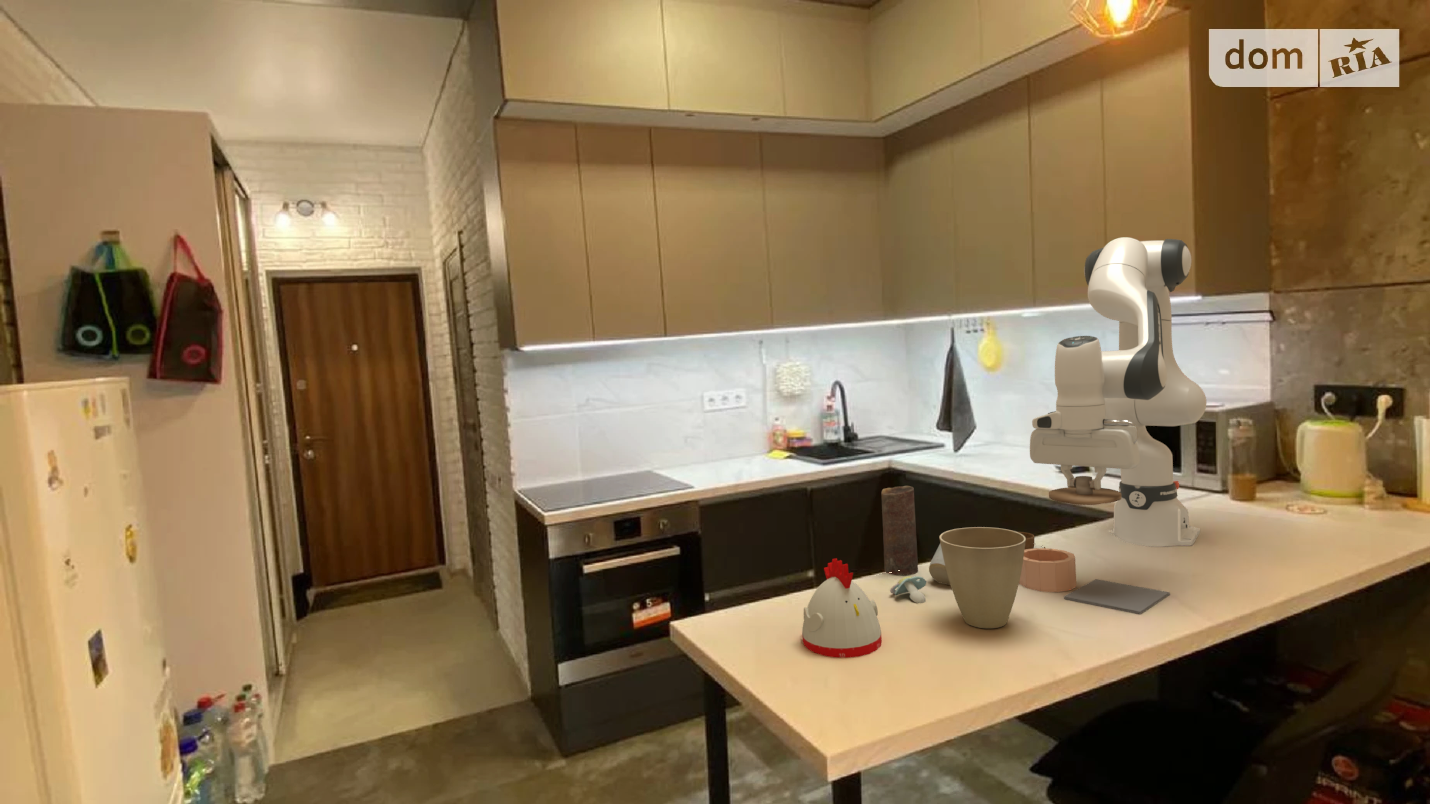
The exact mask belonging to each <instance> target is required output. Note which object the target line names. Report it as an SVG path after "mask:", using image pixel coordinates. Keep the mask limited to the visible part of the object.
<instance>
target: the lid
mask: <svg viewBox="0 0 1430 804" xmlns="http://www.w3.org/2000/svg"><path fill="white" fill-rule="evenodd" d="M1074 478H1075V481H1076V488H1070V487H1068V486H1067V487H1060V488H1056V489H1052V490H1050V491H1048V498H1049V500H1052V501H1055V502H1057V503H1059V502H1060V503H1065V504H1070V505H1078V506H1094V505H1103V504H1111V503H1114V502H1115V503H1116V502H1117V501H1119V500H1121V493H1120V492H1119V490H1115V489H1111V488H1105V487H1101V489H1099V490H1094V489H1090V484H1089V481H1090V480H1092V479H1093V477H1092V476H1090V475H1077V476H1074Z"/></svg>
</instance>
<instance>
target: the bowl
mask: <svg viewBox="0 0 1430 804" xmlns="http://www.w3.org/2000/svg"><path fill="white" fill-rule="evenodd" d="M1076 565H1077V564H1076V556H1075V553H1072V552H1071V551H1070V552H1069V551H1067V550H1064V549H1058V548H1046V547H1045V548H1043V547H1041V548H1040V547H1037V548H1033V549H1026V550H1024V558H1023V565H1022V571H1021V576H1020V581H1019V585H1021V586H1022V587H1024V588H1026V589H1029V590H1033V591H1037V592H1038V591H1039V592H1043V593H1044V592H1046V593H1060V592H1067V591H1071V590H1073V589H1075V588H1077V569H1076V567H1077V566H1076Z"/></svg>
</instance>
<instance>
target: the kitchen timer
mask: <svg viewBox="0 0 1430 804" xmlns="http://www.w3.org/2000/svg"><path fill="white" fill-rule="evenodd" d="M823 571H824V574H825V578H826V579H825V580H824V581H823V582H822V583H821V584H820V585H819V586H818V587H817V588H816V590H815V591H814V592H813V594H812V596H811V597H810V600H809V602H808V605H807V607H806V606H805V607H803V624H802V631H801V636H802V642H803V646H804V647H805V648H806V649H807V650H809V651H811V652H812V653H815V654H818V655H821V656H824V657H830V658H839V659H840V658H845V659H846V658H847V659H849V658H850V659H851V658H856V657H857V658H858V657H862V656H863V657H864V656H866V655H867V656H868V655H870V654H873V653H875V652H876V651H877V650H878V649H880V648H881V646H882V642H883V641H882V640H883V639H882V628H881V626H880V621H879V618H878V616H879V615H878V614H879V611H878V606H877V602H876V601H875V600H874V599H871V600H870V599H869V597H868V596H867V593H865V591H864V590H863V589H862V588H861V587H860V585H858V584H857V583H855V582H854V581H853V575H854V572H850V573H849V564H848V563H845V564H843V560H841V559H840V560H838V558H837V557H836V558H832V560H831V562H828V563H827V567H823Z"/></svg>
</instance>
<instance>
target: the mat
mask: <svg viewBox="0 0 1430 804" xmlns="http://www.w3.org/2000/svg"><path fill="white" fill-rule="evenodd" d="M1170 595H1171V593H1170V591H1166V590H1159V589H1153V588H1148V587H1143V586H1138V585H1132V584H1125V583H1120V582H1115V581H1114V582H1113V581H1110V580H1109V581H1108V580H1104V579H1099V578H1098V579H1093V580H1092V581H1090V582H1088V583H1086V584H1084V585H1082V586H1080V587H1079V588H1077V589H1075V590H1073V591H1072V592H1069V593H1068V594H1065V595H1064V596H1063V599H1064V600H1067V601H1072V602H1078V603H1082V604H1087V605H1092V606H1095V607H1096V606H1098V607H1103V608H1108V609H1112V610H1116V611H1117V610H1118V611H1122V612H1127V613H1132V614H1136V615H1137V614H1138V615H1142V614H1143V613H1145V612H1146V611H1147V610H1149V609H1151V608H1152V607H1154V606H1155V605H1156V604H1158V603H1159V602H1161V601H1163V600H1164V599H1166V598H1167V597H1169V596H1170Z"/></svg>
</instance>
